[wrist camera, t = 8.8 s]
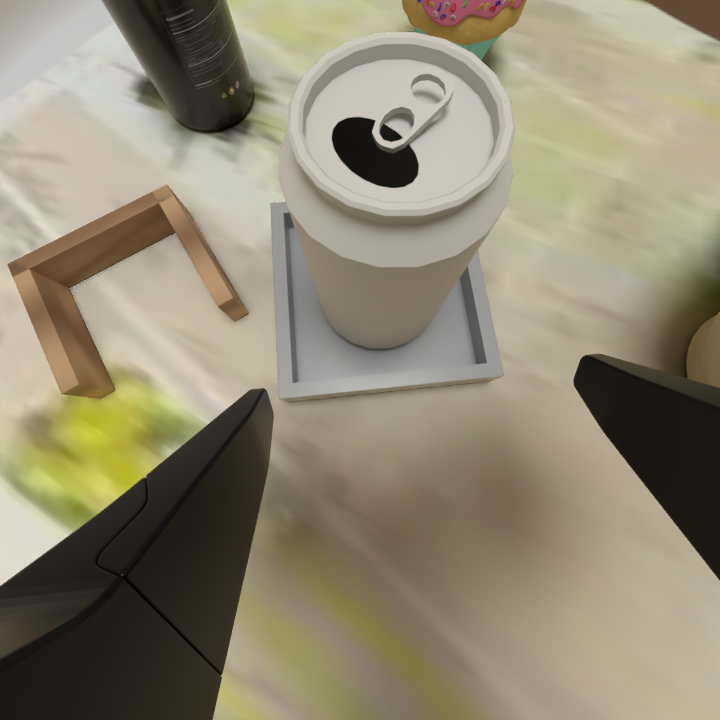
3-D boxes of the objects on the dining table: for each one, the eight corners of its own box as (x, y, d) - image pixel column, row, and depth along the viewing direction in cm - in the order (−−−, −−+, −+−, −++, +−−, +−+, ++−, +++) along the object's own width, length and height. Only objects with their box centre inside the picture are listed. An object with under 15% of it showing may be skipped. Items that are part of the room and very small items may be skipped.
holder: (248, 313, 20) (233, 297, 18) (100, 398, 19) (61, 394, 17) (188, 211, 22) (167, 184, 20) (49, 283, 21) (7, 264, 18)
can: (296, 297, 20) (202, 109, 8) (377, 224, 21) (395, -33, 9) (380, 377, 19) (410, 292, 7) (460, 295, 20) (602, 104, 8)
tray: (489, 381, 19) (503, 375, 17) (287, 402, 19) (278, 398, 17) (454, 207, 22) (464, 185, 20) (278, 223, 22) (270, 203, 20)
